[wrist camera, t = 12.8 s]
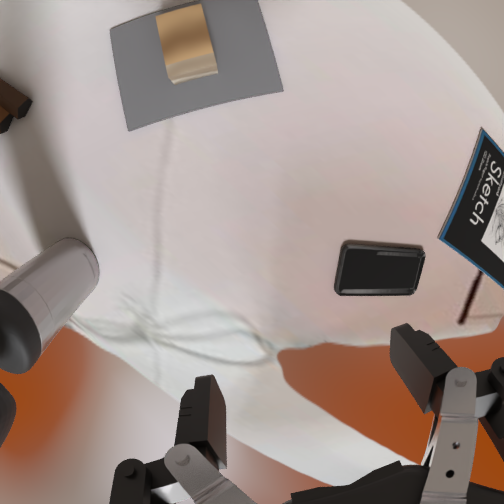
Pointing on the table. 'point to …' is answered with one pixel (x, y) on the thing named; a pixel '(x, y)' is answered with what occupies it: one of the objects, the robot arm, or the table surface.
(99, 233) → the table surface
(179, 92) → the mat
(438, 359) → the robot arm
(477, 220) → the sketchbook
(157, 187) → the table surface
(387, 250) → the phone
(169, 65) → the block
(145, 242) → the table surface
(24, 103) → the ridged wooden panel
